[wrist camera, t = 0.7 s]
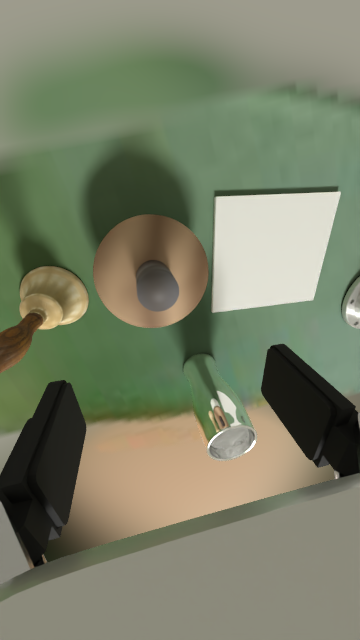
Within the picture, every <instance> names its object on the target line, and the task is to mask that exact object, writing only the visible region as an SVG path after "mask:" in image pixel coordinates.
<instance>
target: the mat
mask: <svg viewBox="0 0 360 640" xmlns="http://www.w3.org/2000/svg"><path fill="white" fill-rule="evenodd" d="M340 194H341V192H322V193H297V194H272V195H247V196H222V197H214V230H213V266H212V303H211V311H212V313H213V312H221V311H229V310H237V309H245V308H253V307H261V306H269V305H277V304H285V303H293V302H301V301H309V300H313V299H314V295H315V291H316V287H317V283H318V279H319V275H320V271H321V268H322V264H323V260H324V256H325V252H326V248H327V244H328V240H329V237H330V233H331V229H332V225H333V221H334V217H335V213H336V209H337V206H338V202H339V198H340Z"/></svg>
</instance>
